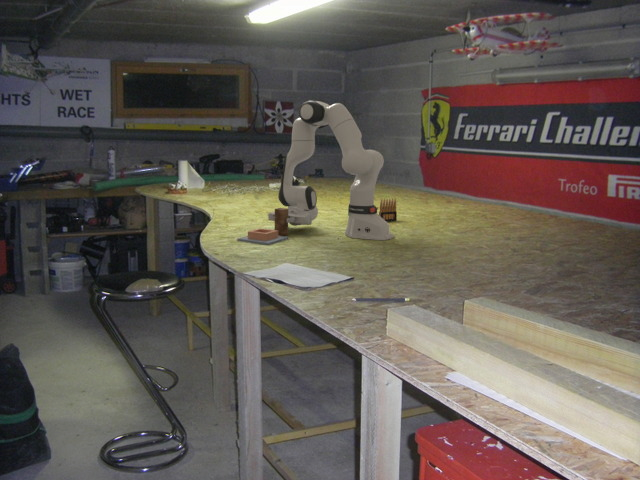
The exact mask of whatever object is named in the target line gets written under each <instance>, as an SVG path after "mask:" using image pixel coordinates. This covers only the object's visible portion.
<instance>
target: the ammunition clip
mask: <svg viewBox="0 0 640 480" xmlns="http://www.w3.org/2000/svg"><path fill="white" fill-rule="evenodd" d="M378 215H379V216H380V217H381V218H383V219H384V220H385V221H386V222H387V223H388V222H397V219H398V218H397V215H398V214H397V199H396V198H389V199H388V198H386V199H385V198H384V199H380V204H379V212H378Z"/></svg>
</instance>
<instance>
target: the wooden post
mask: <svg viewBox="0 0 640 480" xmlns="http://www.w3.org/2000/svg"><path fill="white" fill-rule="evenodd" d="M274 212H275V221H274V230H278V236H285V237H286V236H289V223H288V222H285V218H288V207H287V208H284V207H278V208H274Z"/></svg>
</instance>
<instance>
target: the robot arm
mask: <svg viewBox="0 0 640 480" xmlns="http://www.w3.org/2000/svg"><path fill="white" fill-rule="evenodd" d="M298 115H299V117H298V118H296V119H295V120H294V121H293V124H292V130H291V145H290V149H289V151H288V152H286V155H285V157H284V163H283V167H282V176H281V180H280V181H281V184H280V188H279V190H278V197H277V198H278V200H279V202H280V203H281V205H282V206H284V207H288V206H296V207H292V208H290V209H289V210H288V218H285V222H288V224H289V225H291V226H294V227H296V226H302V225H303V226H306V225H307V226H311V225H312V222H313V221H314V220H316V218H317V217H318V214H319V209H318V207H317V200H318V199H317V192H316V191H315V189H314V188H313V187H312V186H311V185H293V179H294V172H295V168H296V166H297V165H299V164H300V163H302V162H304V161H307V160H308V159H310V158H311V157H312V156H313V155H314V153H315V149H316V139H315V138H316V131H317V129H323V128H325V127H328V126H329V128H330V129H331V131H332V133H333V134H334V137H335V138H336V141H337V143H338V144H339V147H340V149H341V154H342V159H341V167H342V169H343V171H344V172H345V173H347V174H349V175H353V176H354V180H353V182H352V184H351V185H350V188H349V204H348V208H347V209H348V210H347V213H348V214H347V215H348V220H347V226H346V229H345V232H344V234H345V236H348V237H349V238H351V239H363V240H374V241H386V240H391V239H392V238H393V239H394V237H395V234H394V233H392V232H391V233H390V227H389V223H388V222H386V221H385V220H384V219H383V218H381V217H380V216H379V213H378V211H379V209H380V206H376V205H375V188H376V183H377V180H378V176H379V173H380V171H381V169H382V168H383V166H384V163H385V160H384V156H383V155H382V154H381V152H380V151H377V150H374V149H365V148H364V146H363V142H362V137H363V136H362V135H363V134H362V132H361V130H360V129H359V127H358V125H357V123H356V121H355V118H353V116H352V114H351V113H350V111H349V110H348V108H346V106H345V105H344V104H342V103H340V102H336V103H335V102H334V103H333V104H329V103H327V102H323V101H319V100H318V101H317V100H307V101H304V102H303V103H302V104H301V105H300V106H299V109H298ZM267 219H268V221H270V222H271V221H273V222H275V211H272V212H270V211H269V212H268V214H267Z"/></svg>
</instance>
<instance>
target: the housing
mask: <svg viewBox="0 0 640 480" xmlns="http://www.w3.org/2000/svg"><path fill="white" fill-rule="evenodd" d="M286 240H289V237H288V236H286V235H285V236H278V230H275V229H267V228H262V227H260V228H257V229H256V228H255V229H251V230H249V231H247V236H246V235H245V236H241V237H238V238H237V239H236V241H237V242H241V243H243V242H244V243H248V244H258V245H265V246H271V245H273V244H276V243H281V242H284V241H286Z"/></svg>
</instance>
